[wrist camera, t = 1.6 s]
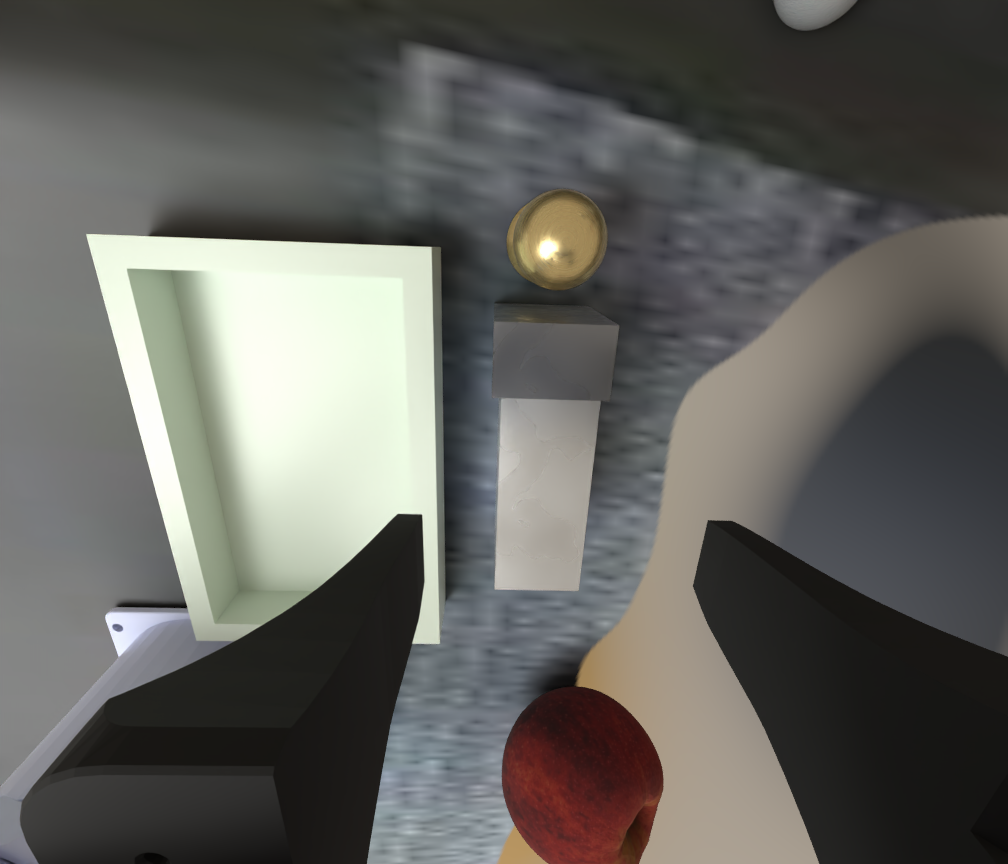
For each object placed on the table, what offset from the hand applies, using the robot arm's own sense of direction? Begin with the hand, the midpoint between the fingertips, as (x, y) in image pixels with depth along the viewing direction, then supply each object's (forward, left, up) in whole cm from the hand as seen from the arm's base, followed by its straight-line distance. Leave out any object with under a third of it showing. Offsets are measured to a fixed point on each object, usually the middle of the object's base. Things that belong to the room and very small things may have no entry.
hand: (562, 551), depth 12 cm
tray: (-2, +10, -9) cm, 13 cm away
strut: (0, 0, -10) cm, 10 cm away
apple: (-18, -3, -10) cm, 20 cm away
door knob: (+7, 0, -9) cm, 12 cm away
